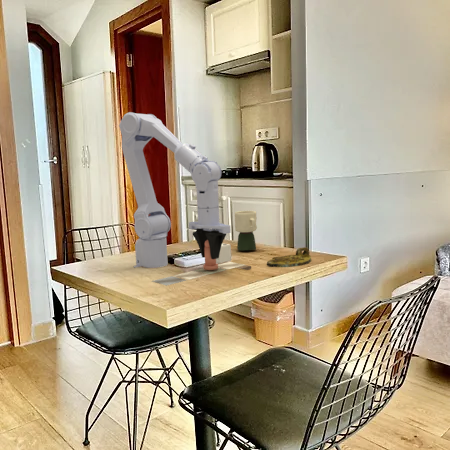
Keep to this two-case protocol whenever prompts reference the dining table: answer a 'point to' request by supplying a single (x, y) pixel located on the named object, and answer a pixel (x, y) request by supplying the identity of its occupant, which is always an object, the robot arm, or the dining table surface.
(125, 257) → the dining table surface
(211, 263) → the dildo
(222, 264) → the board
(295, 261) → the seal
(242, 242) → the character mug
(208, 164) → the robot arm
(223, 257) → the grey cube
